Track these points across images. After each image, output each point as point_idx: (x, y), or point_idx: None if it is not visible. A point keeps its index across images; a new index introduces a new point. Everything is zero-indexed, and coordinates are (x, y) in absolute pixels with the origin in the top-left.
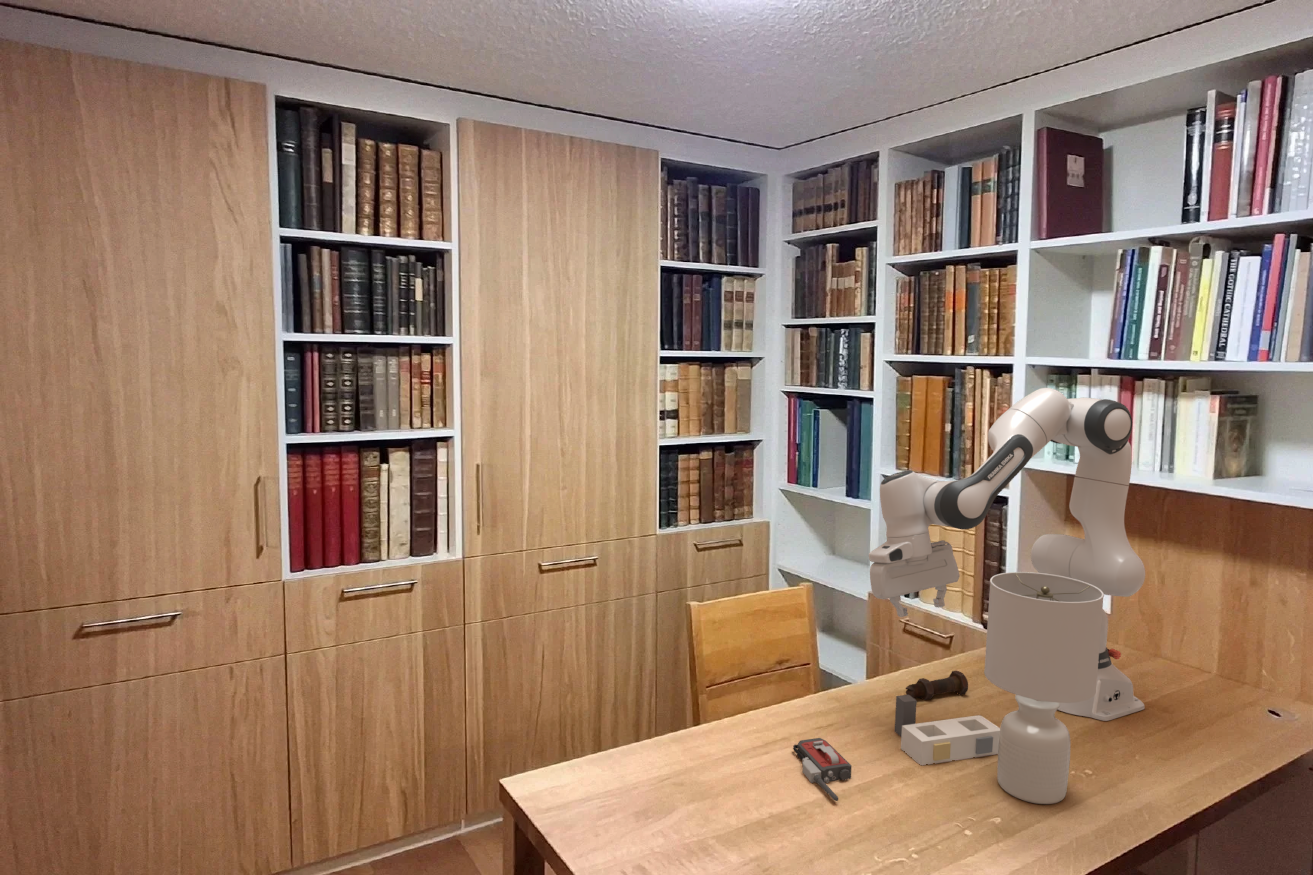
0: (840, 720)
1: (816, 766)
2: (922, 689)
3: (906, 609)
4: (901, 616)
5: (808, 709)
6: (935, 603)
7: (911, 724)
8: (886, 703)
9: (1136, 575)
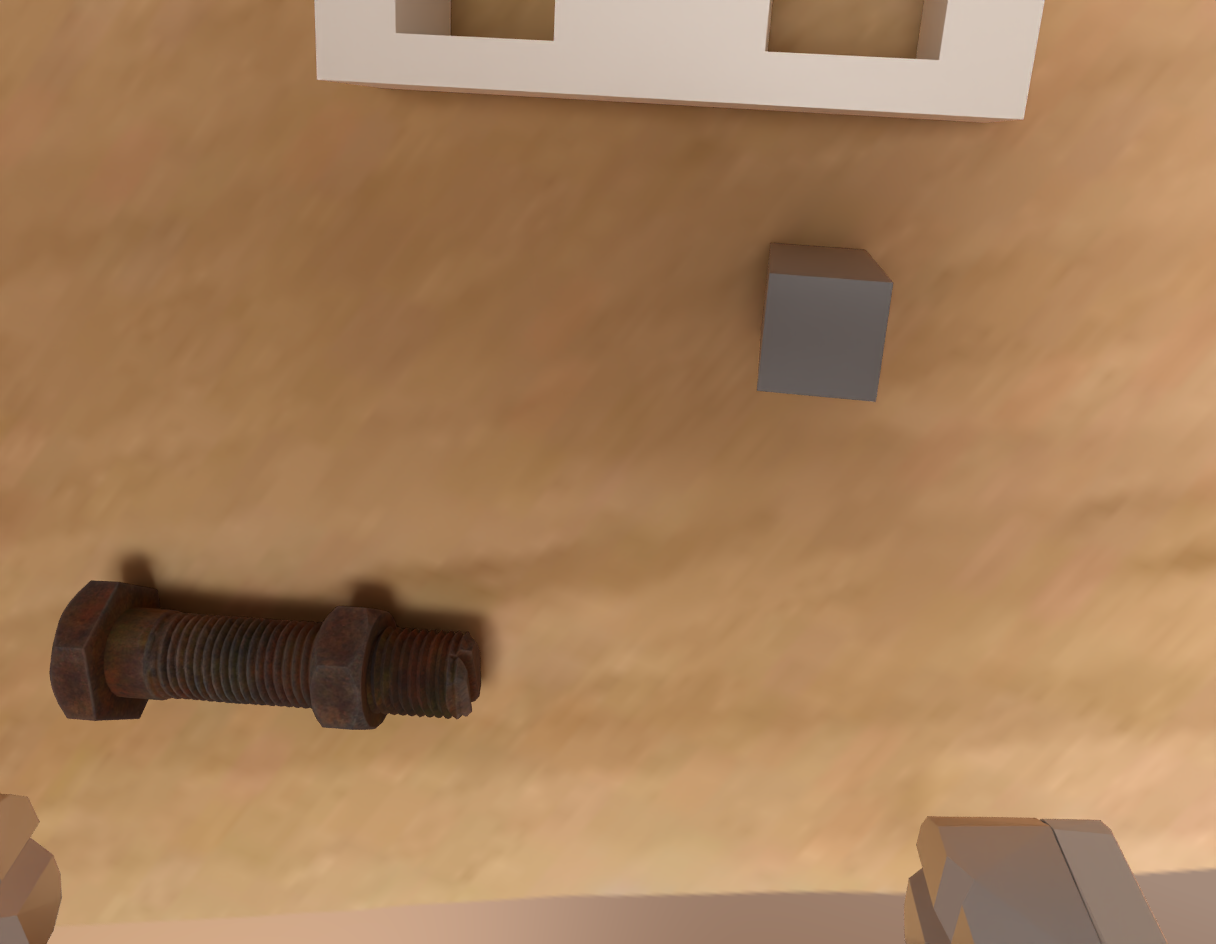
0: (1086, 584)
1: None
2: (390, 648)
3: (992, 933)
4: (1088, 835)
5: (1176, 771)
6: (5, 942)
7: (934, 112)
8: (647, 660)
9: None
